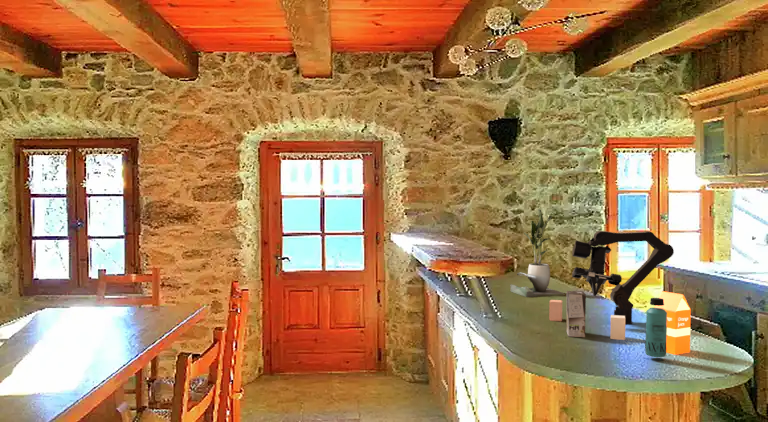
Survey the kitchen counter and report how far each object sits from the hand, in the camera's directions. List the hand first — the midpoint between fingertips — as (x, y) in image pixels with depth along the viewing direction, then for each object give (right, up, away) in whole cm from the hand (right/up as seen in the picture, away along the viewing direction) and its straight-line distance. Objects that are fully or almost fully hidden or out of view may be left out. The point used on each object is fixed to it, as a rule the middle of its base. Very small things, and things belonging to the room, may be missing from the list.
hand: (594, 295), depth 258 cm
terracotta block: (-12, -12, +12) cm, 21 cm away
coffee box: (-12, -13, -15) cm, 23 cm away
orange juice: (+13, -14, -39) cm, 44 cm away
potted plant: (-4, -10, +81) cm, 82 cm away
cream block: (+2, -13, -21) cm, 24 cm away
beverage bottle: (+3, -14, -51) cm, 53 cm away
